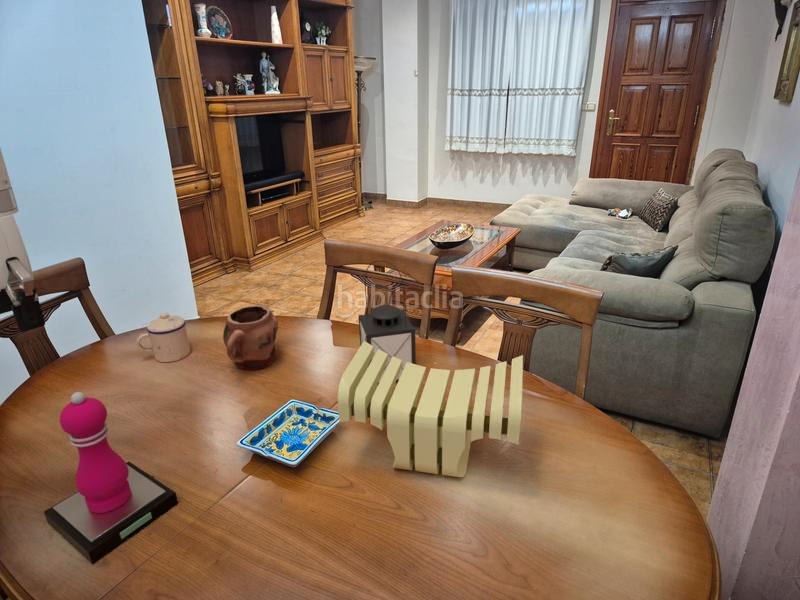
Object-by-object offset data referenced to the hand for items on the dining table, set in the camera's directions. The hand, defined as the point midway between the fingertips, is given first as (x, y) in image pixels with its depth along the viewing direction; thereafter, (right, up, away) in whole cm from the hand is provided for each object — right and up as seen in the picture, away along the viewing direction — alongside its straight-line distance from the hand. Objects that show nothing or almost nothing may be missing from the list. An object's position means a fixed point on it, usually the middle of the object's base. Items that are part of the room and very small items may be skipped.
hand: (18, 319), depth 75 cm
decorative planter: (+20, -13, +52) cm, 57 cm away
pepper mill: (+9, -29, +7) cm, 32 cm away
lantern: (+53, -15, +48) cm, 73 cm away
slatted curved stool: (+62, -26, +21) cm, 70 cm away
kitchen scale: (+9, -32, +8) cm, 34 cm away
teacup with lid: (-4, -12, +57) cm, 59 cm away
